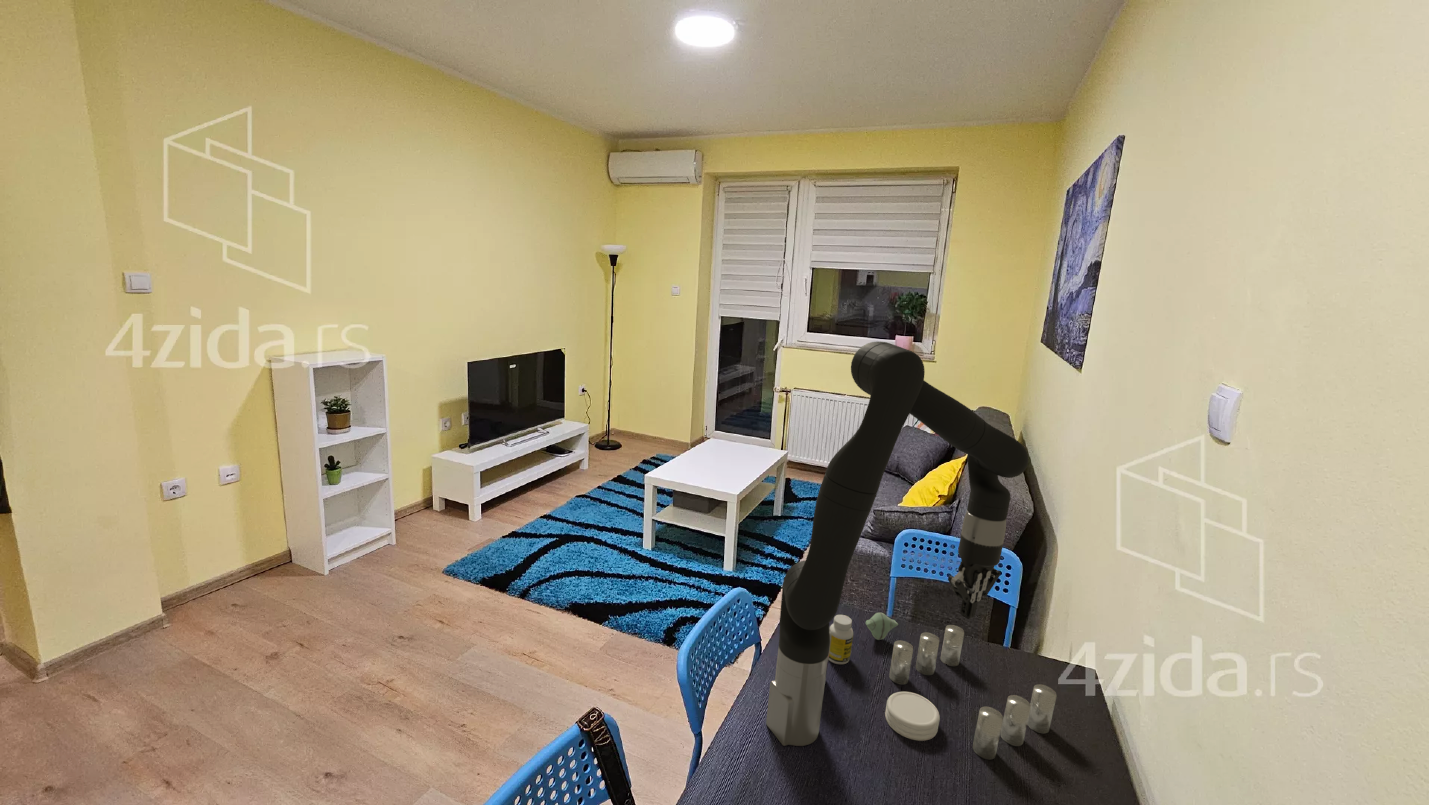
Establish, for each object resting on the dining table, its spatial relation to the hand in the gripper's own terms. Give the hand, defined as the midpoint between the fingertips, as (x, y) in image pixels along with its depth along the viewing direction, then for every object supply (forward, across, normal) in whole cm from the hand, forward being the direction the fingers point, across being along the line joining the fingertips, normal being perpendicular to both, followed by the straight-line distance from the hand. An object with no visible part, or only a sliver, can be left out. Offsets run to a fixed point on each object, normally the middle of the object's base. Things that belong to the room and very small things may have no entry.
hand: (967, 616), depth 119 cm
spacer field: (+21, +4, 0) cm, 21 cm away
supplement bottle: (+21, -12, +22) cm, 33 cm away
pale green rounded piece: (+21, +2, +24) cm, 32 cm away
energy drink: (+21, -22, +18) cm, 35 cm away
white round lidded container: (+21, -11, 0) cm, 24 cm away
